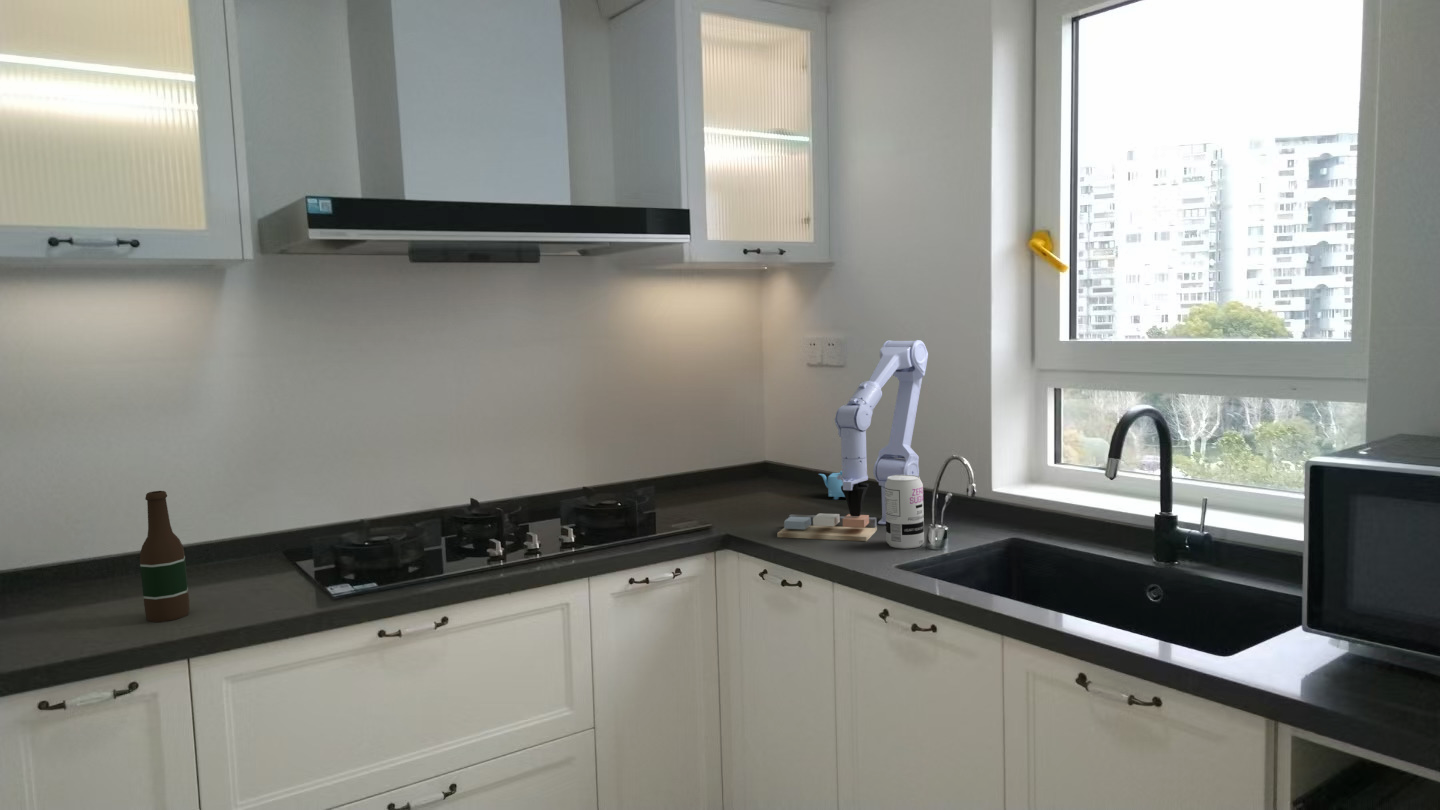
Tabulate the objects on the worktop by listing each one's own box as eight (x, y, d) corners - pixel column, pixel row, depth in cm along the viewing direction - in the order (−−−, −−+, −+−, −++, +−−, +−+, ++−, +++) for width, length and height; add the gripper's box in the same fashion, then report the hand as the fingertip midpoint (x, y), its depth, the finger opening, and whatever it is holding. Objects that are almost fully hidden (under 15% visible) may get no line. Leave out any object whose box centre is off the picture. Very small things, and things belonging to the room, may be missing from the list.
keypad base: (876, 530, 235) (876, 517, 234) (866, 541, 224) (866, 528, 224) (791, 526, 242) (790, 514, 242) (777, 537, 232) (776, 524, 232)
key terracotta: (869, 522, 231) (868, 515, 231) (864, 527, 227) (864, 519, 227) (848, 521, 233) (847, 514, 233) (842, 526, 229) (842, 519, 228)
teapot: (816, 499, 274) (815, 472, 273) (821, 495, 280) (820, 468, 279) (860, 500, 270) (859, 473, 269) (864, 496, 276) (863, 469, 275)
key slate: (811, 524, 237) (810, 517, 236) (805, 529, 232) (804, 521, 232) (790, 523, 238) (790, 516, 238) (784, 528, 234) (784, 521, 234)
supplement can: (889, 539, 225) (887, 474, 223) (926, 540, 222) (924, 474, 221) (883, 548, 217) (881, 480, 216) (922, 549, 215) (920, 481, 213)
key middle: (839, 521, 234) (839, 514, 234) (834, 526, 229) (834, 518, 229) (819, 520, 236) (818, 513, 236) (813, 525, 231) (813, 517, 231)
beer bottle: (199, 609, 194) (187, 487, 191) (178, 621, 186) (166, 494, 184) (158, 611, 193) (145, 489, 191) (136, 624, 186) (123, 496, 183)
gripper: (844, 452, 237) (846, 508, 238) (828, 462, 223) (830, 521, 225) (874, 452, 234) (875, 509, 235) (859, 462, 221) (861, 522, 222)
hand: (855, 515), depth 230 cm, fingers closed
